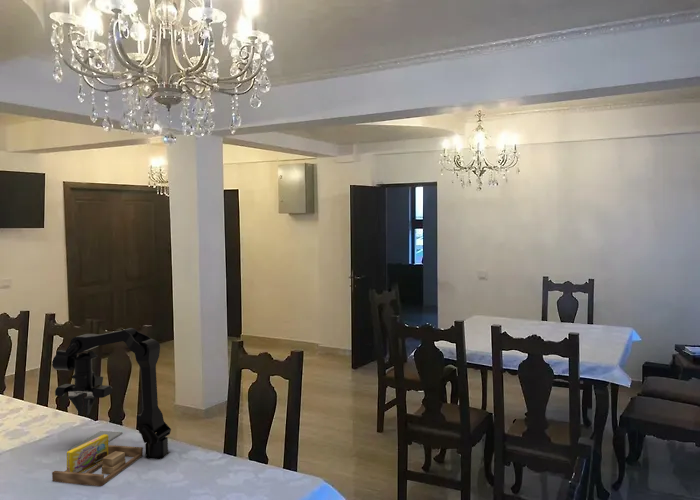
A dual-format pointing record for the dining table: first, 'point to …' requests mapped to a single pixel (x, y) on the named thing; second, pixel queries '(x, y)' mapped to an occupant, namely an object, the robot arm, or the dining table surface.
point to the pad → (110, 436)
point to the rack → (98, 478)
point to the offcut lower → (112, 468)
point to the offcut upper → (113, 459)
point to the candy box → (87, 454)
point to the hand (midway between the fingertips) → (84, 414)
